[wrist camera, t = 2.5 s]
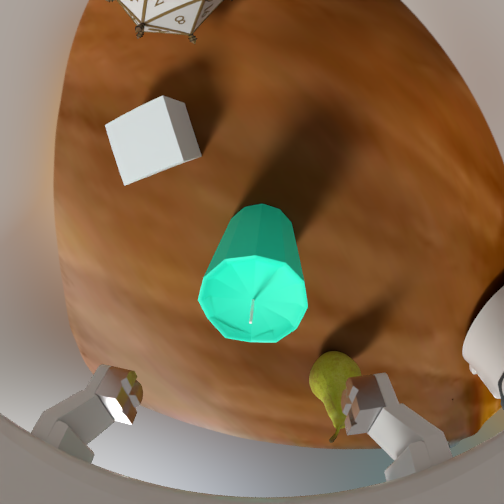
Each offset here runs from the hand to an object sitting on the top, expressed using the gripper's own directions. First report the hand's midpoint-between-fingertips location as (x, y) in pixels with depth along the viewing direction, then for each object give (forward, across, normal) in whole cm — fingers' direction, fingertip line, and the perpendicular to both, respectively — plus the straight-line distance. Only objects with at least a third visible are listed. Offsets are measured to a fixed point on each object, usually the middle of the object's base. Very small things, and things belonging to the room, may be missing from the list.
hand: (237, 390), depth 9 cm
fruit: (+16, -9, +15) cm, 24 cm away
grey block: (+16, +7, -9) cm, 20 cm away
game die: (+16, +5, -21) cm, 27 cm away
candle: (+16, 0, 0) cm, 17 cm away
